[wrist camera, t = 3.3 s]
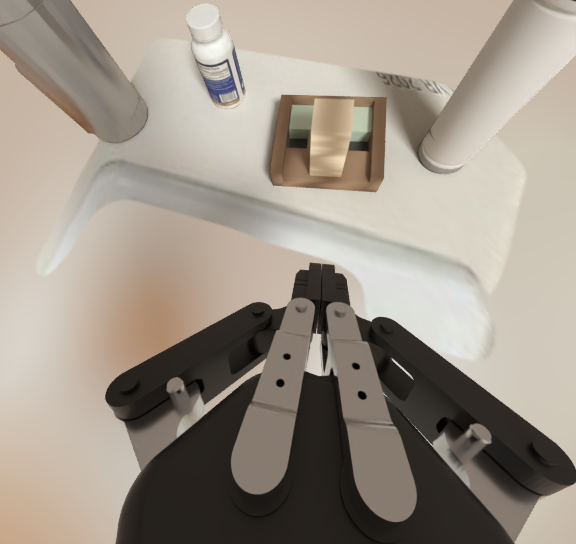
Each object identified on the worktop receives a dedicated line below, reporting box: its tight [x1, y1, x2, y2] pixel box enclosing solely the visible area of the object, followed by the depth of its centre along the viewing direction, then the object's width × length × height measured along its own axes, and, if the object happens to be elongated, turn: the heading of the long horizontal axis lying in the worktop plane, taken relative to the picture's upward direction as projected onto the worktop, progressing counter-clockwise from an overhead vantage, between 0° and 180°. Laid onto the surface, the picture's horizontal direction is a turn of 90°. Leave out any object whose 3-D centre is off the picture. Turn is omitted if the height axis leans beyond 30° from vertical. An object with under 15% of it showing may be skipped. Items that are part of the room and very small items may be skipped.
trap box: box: [270, 95, 387, 192], centre depth 31 cm, size 14×12×3 cm
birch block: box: [310, 98, 354, 177], centre depth 26 cm, size 4×4×7 cm
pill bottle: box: [186, 4, 245, 109], centre depth 31 cm, size 5×5×10 cm
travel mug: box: [418, 0, 576, 174], centre depth 21 cm, size 6×7×20 cm
